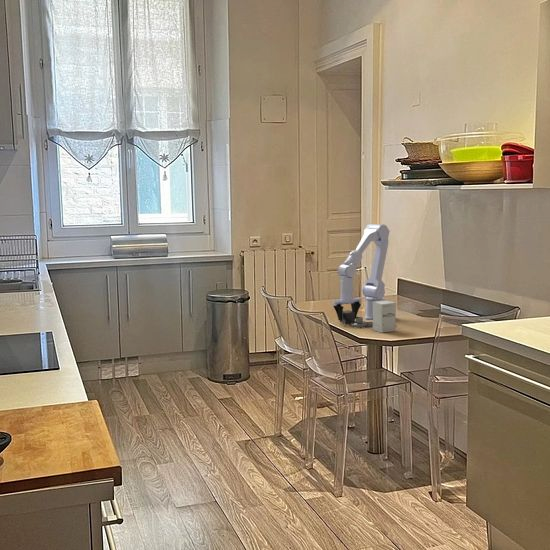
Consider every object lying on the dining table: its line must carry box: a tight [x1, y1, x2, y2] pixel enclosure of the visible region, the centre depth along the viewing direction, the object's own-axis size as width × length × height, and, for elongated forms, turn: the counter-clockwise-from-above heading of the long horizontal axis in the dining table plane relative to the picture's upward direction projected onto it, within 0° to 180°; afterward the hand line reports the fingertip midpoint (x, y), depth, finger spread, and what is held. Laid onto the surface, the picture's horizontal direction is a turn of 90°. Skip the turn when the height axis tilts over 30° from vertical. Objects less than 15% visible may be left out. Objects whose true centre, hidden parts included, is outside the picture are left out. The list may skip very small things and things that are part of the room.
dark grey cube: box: [339, 310, 356, 325], centre depth 323 cm, size 5×5×5 cm
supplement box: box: [372, 299, 397, 333], centre depth 304 cm, size 7×7×13 cm
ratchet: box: [350, 316, 373, 328], centre depth 315 cm, size 19×8×4 cm, turn 87°
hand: (347, 319), depth 324 cm, fingers open, 7 cm apart
